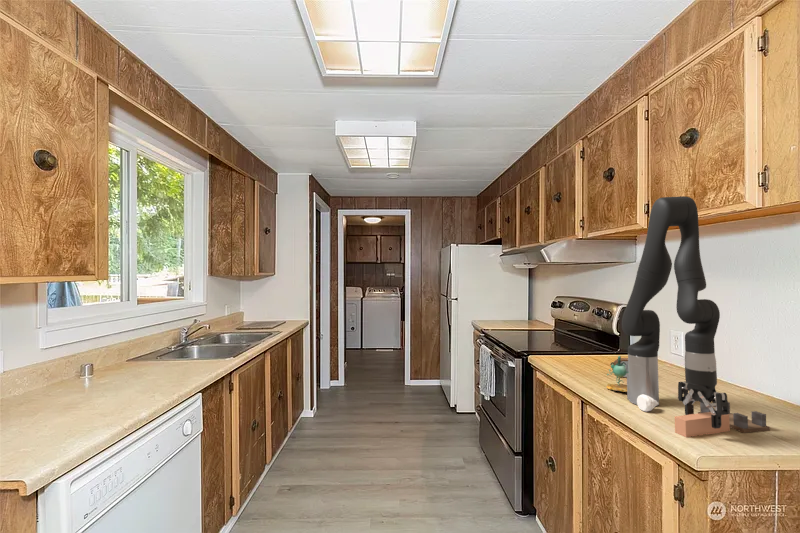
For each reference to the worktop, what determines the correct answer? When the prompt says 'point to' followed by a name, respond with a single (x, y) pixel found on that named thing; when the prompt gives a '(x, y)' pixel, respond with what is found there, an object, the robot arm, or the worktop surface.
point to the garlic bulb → (646, 403)
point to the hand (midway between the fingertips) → (702, 422)
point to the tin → (623, 364)
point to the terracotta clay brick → (699, 424)
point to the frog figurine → (620, 372)
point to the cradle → (743, 420)
